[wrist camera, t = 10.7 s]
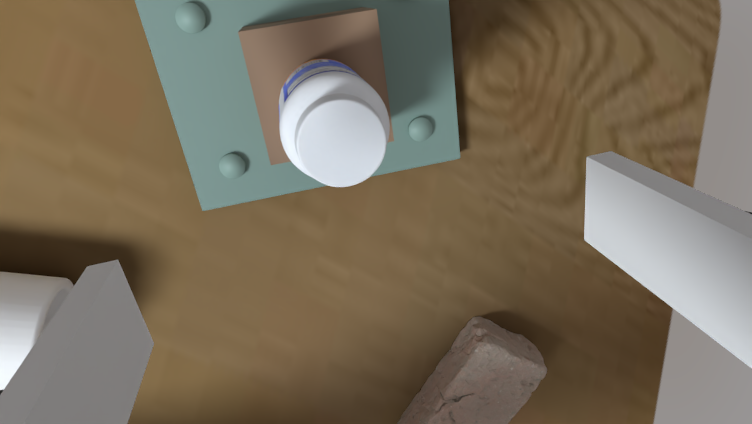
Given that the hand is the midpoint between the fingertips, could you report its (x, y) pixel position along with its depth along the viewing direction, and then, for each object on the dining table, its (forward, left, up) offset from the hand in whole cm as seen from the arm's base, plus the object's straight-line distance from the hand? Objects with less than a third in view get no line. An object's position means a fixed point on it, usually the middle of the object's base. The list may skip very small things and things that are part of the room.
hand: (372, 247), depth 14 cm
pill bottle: (0, 0, -19) cm, 19 cm away
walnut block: (0, +1, -23) cm, 23 cm away
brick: (+9, -32, -25) cm, 42 cm away
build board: (0, +1, -25) cm, 25 cm away
